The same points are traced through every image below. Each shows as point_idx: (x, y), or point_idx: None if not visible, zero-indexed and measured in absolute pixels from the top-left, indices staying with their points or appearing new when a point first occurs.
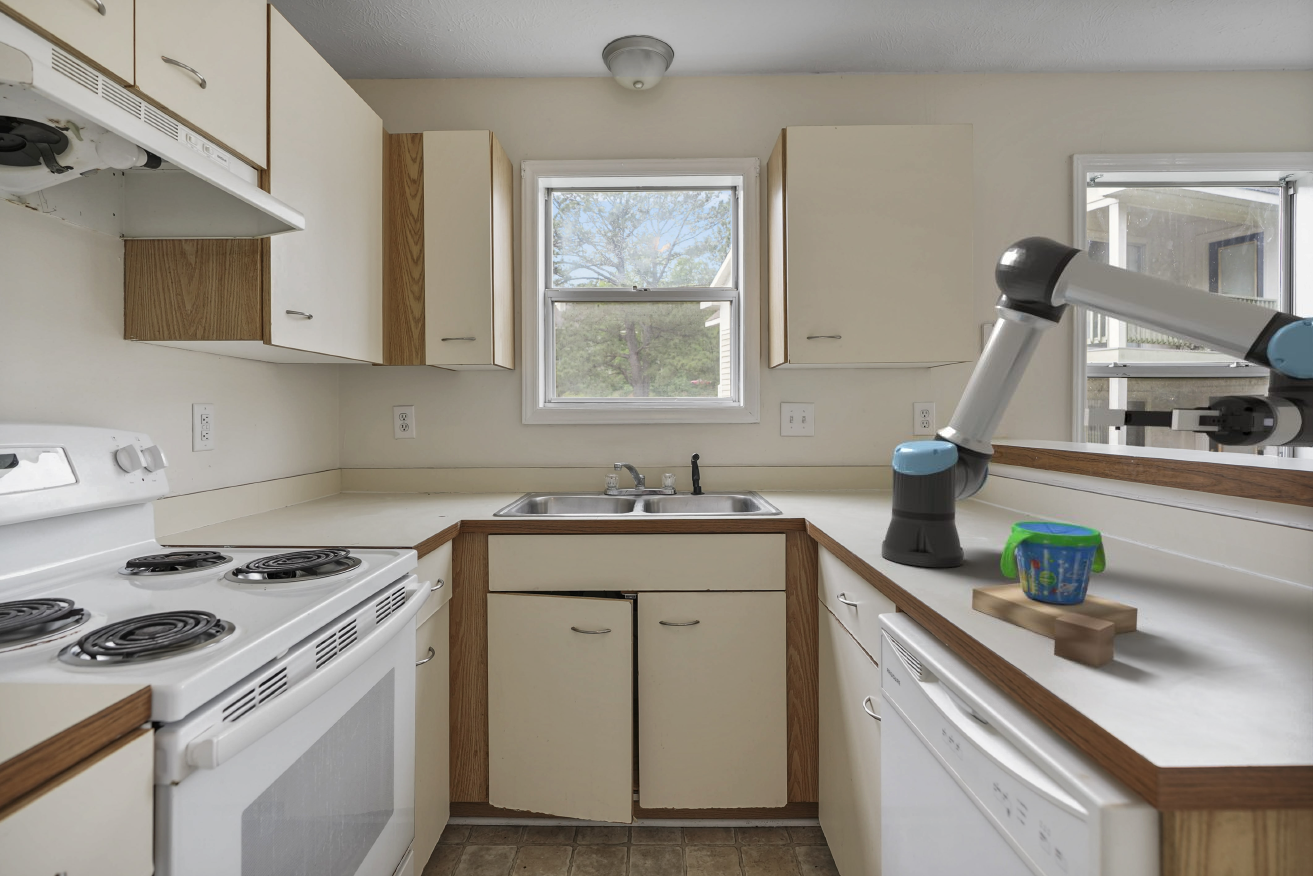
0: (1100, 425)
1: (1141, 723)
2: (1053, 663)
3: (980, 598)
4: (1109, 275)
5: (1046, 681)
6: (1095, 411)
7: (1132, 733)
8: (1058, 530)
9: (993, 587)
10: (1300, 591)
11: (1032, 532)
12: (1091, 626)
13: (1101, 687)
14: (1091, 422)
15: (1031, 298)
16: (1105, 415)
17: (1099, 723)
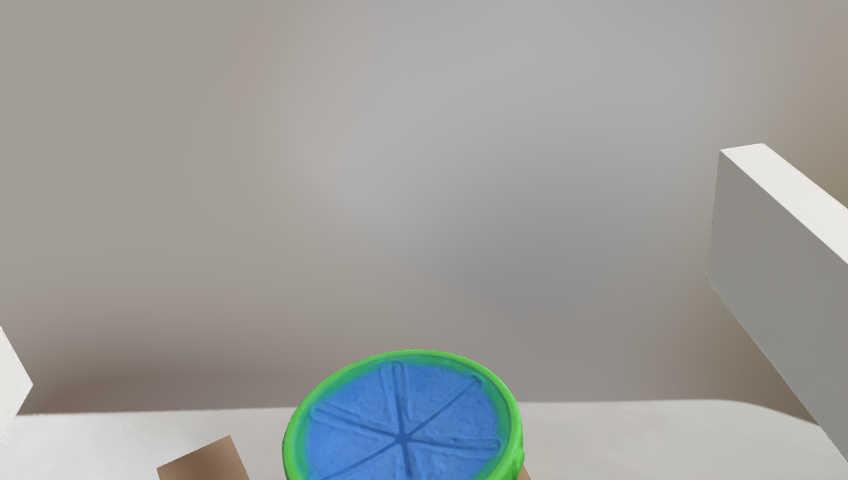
0: (767, 351)
1: (37, 458)
2: None
3: None
4: None
5: (172, 420)
6: (750, 204)
7: (31, 434)
8: (430, 460)
9: (520, 478)
10: None
11: (364, 360)
12: (175, 467)
13: (125, 476)
14: (723, 272)
15: None
16: (806, 300)
17: (65, 416)
